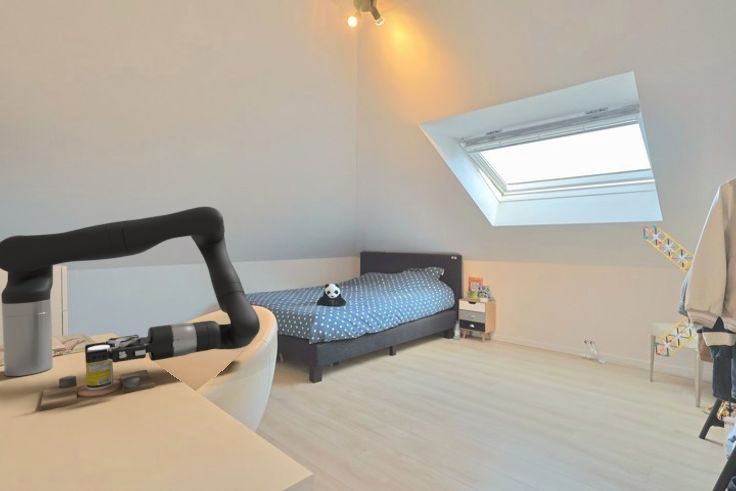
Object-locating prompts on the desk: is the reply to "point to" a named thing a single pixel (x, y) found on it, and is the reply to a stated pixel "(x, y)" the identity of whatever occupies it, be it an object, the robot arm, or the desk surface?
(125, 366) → the desk surface
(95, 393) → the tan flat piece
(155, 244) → the robot arm
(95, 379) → the supplement bottle
